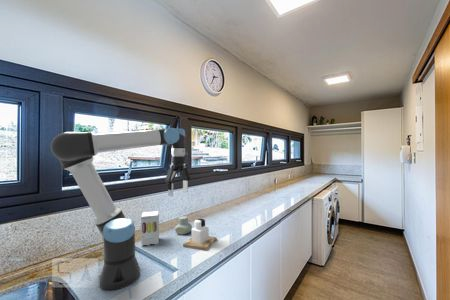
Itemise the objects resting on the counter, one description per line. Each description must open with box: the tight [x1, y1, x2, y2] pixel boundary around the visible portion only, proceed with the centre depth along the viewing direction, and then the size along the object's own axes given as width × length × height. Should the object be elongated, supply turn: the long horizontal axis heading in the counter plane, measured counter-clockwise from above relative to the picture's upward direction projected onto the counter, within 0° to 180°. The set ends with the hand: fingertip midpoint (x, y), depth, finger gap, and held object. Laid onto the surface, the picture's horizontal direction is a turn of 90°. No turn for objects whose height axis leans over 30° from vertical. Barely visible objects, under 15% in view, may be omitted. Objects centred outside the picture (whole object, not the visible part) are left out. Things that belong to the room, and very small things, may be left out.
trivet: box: [182, 235, 217, 252], centre depth 116 cm, size 14×14×2 cm
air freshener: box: [174, 215, 193, 236], centre depth 132 cm, size 11×8×10 cm
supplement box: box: [140, 210, 160, 246], centre depth 119 cm, size 10×9×17 cm
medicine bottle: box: [190, 218, 210, 244], centre depth 116 cm, size 7×7×12 cm
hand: (178, 193), depth 114 cm, fingers open, 13 cm apart
